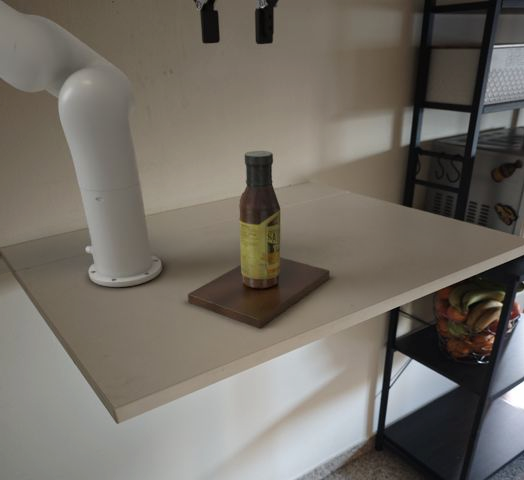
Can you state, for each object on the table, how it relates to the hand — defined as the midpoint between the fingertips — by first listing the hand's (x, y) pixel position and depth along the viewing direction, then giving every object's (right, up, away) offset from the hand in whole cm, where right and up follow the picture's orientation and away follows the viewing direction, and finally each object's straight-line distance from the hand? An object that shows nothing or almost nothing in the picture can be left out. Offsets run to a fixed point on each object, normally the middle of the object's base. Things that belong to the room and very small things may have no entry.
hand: (236, 43), depth 71 cm
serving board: (+3, -34, +11) cm, 36 cm away
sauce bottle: (+3, -33, +10) cm, 34 cm away
